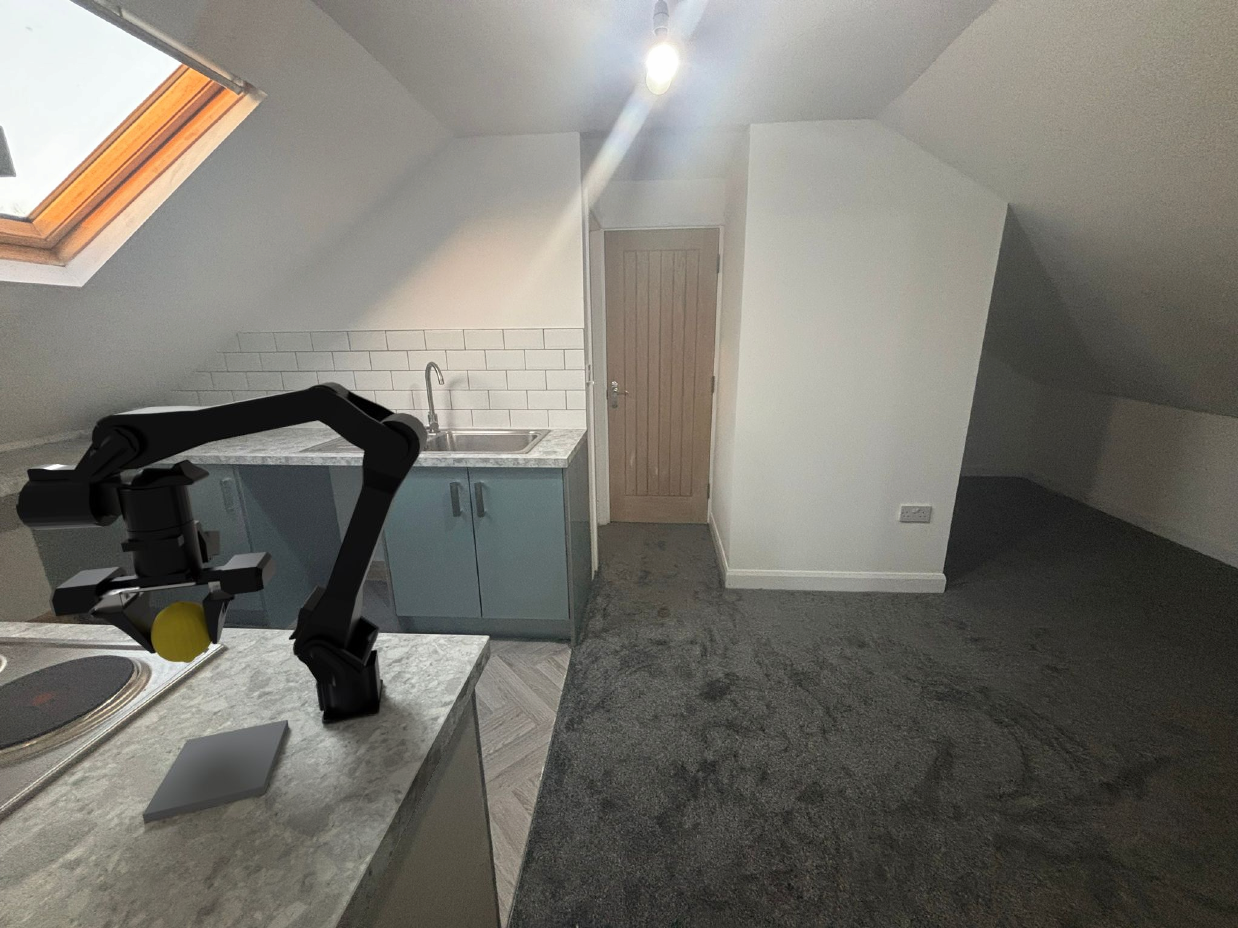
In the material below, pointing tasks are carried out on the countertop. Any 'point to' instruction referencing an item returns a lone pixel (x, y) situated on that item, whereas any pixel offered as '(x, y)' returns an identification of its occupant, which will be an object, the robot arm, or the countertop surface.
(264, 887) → the countertop surface
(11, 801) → the countertop surface
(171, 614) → the lemon
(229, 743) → the mat
